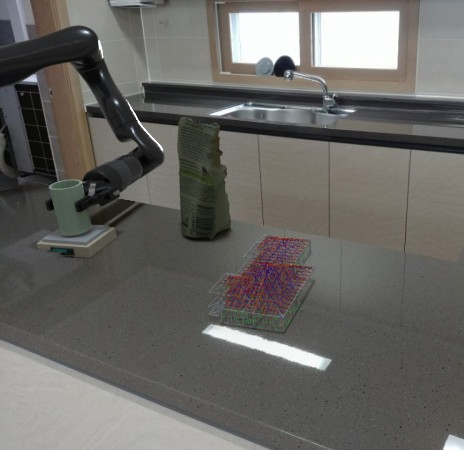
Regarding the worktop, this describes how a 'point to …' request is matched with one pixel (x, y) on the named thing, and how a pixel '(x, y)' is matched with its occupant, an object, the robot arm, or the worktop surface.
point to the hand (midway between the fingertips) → (62, 207)
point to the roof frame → (254, 265)
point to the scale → (79, 241)
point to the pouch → (201, 180)
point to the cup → (69, 207)
